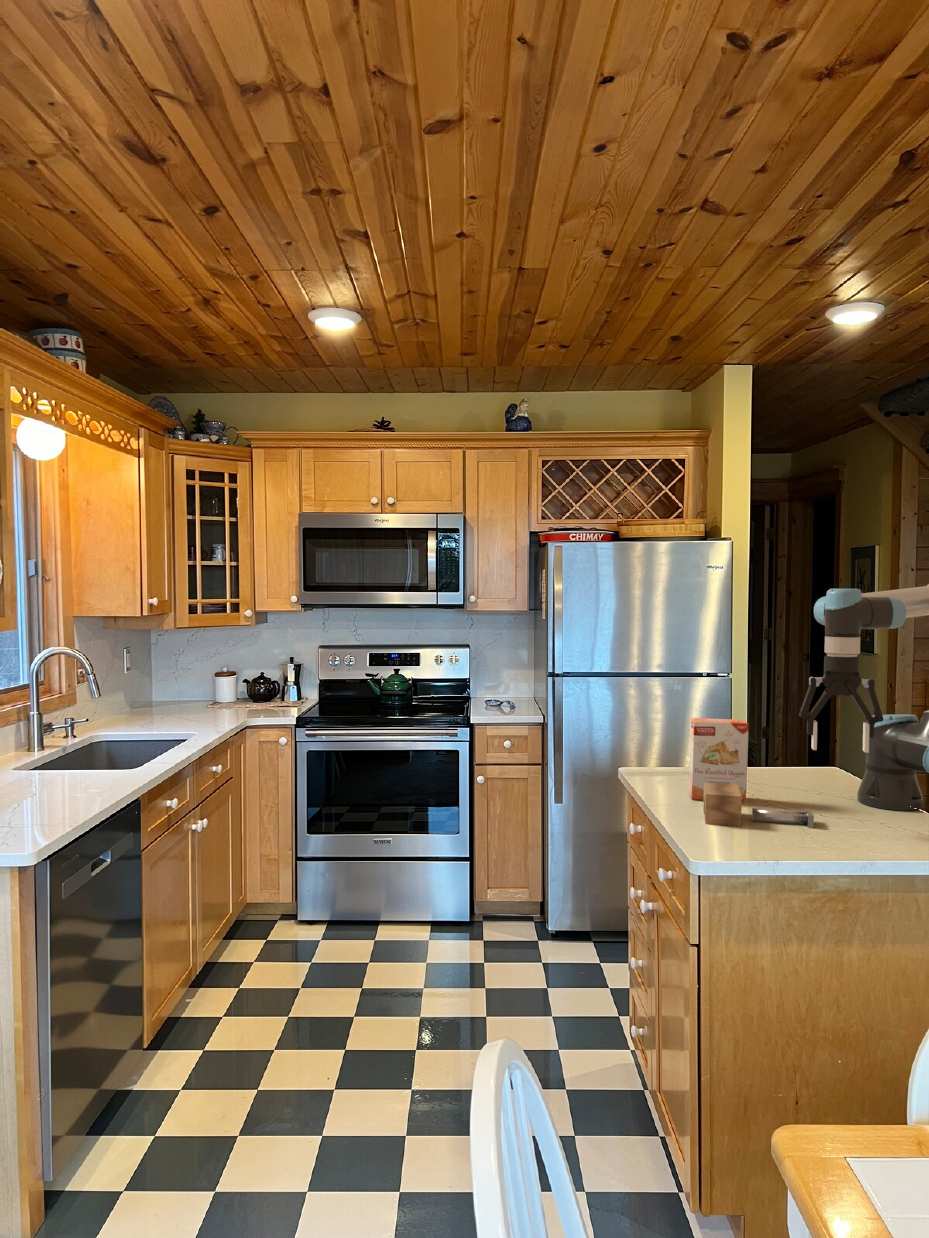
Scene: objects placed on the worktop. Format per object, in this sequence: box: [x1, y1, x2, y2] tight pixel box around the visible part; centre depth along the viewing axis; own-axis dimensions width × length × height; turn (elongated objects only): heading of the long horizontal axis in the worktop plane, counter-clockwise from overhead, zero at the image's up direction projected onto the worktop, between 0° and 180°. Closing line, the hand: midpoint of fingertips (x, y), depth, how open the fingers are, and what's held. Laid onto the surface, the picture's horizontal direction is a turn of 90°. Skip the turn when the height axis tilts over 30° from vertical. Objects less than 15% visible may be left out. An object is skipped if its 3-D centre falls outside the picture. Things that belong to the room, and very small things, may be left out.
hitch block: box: [702, 783, 743, 827], centre depth 201 cm, size 8×12×7 cm, turn 166°
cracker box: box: [688, 717, 750, 803], centre depth 219 cm, size 14×6×21 cm, turn 83°
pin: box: [751, 807, 815, 829], centre depth 198 cm, size 13×6×3 cm, turn 76°
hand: (839, 750), depth 194 cm, fingers open, 10 cm apart
